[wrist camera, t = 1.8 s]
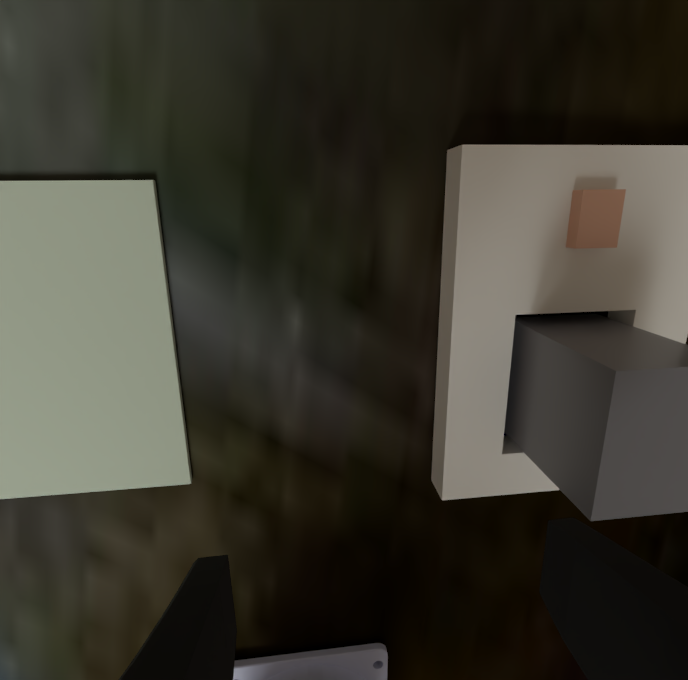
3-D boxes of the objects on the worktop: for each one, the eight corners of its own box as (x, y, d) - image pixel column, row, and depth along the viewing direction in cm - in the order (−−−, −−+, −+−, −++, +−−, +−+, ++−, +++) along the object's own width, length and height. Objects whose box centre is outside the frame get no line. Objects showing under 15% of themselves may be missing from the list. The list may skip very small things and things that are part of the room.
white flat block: (632, 463, 22) (667, 488, 20) (431, 480, 21) (446, 509, 19) (691, 150, 18) (743, 142, 16) (447, 150, 17) (469, 142, 15)
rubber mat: (192, 479, 19) (191, 483, 19) (-94, 502, 18) (-100, 507, 18) (155, 180, 16) (152, 179, 15) (-201, 182, 14) (-210, 182, 14)
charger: (580, 419, 21) (705, 509, 15) (497, 425, 20) (590, 521, 14) (596, 313, 19) (743, 363, 13) (507, 317, 19) (616, 371, 13)
